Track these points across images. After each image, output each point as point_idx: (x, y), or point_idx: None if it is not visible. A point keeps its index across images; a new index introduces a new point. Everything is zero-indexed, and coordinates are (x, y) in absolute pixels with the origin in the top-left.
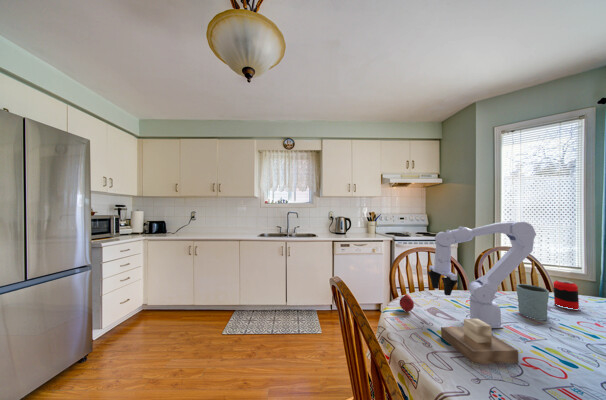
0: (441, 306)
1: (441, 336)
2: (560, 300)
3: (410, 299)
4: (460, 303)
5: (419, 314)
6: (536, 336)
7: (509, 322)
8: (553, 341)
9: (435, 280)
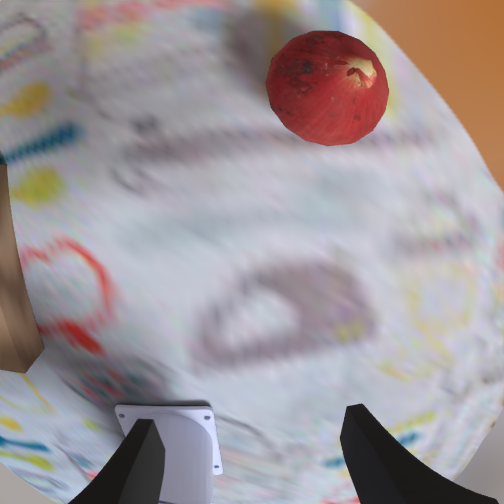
0: (370, 375)
1: (3, 164)
2: None
3: (308, 94)
4: None
5: (271, 173)
6: None
7: None
8: None
9: (375, 492)
